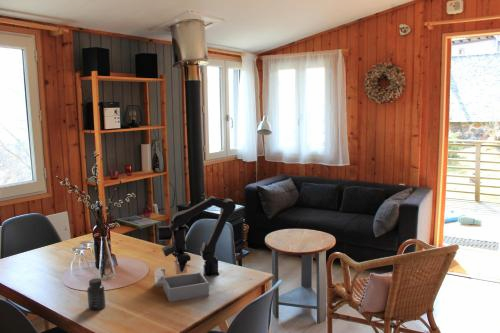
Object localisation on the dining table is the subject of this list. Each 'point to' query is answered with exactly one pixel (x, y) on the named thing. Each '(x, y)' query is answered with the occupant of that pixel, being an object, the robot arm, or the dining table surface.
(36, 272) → the dining table surface
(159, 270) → the aluminium cylinder
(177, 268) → the terracotta cube
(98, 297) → the supplement bottle
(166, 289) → the tote
